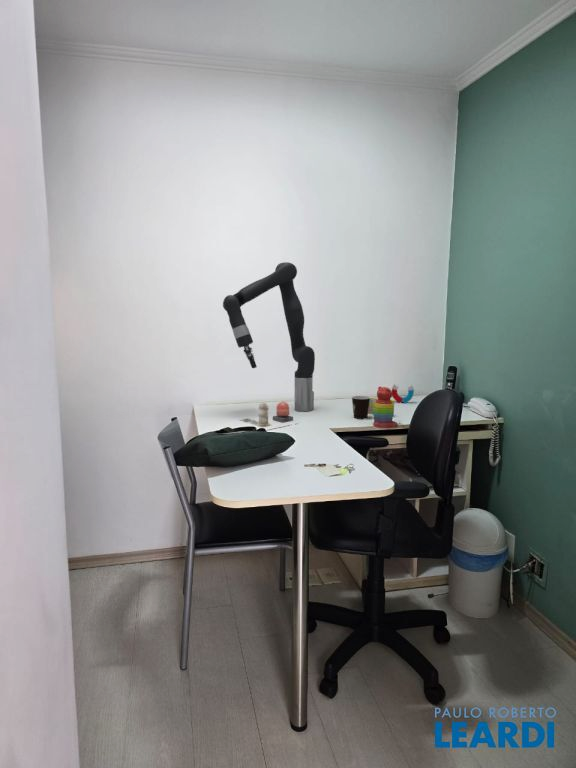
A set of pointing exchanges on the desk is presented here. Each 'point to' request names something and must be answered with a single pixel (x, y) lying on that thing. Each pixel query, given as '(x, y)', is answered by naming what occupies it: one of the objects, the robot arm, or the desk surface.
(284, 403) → the dome
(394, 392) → the magnet
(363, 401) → the coffee mug
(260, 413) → the pawn
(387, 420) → the stacking bear
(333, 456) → the desk surface
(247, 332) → the robot arm
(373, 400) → the candy box
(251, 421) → the game board
